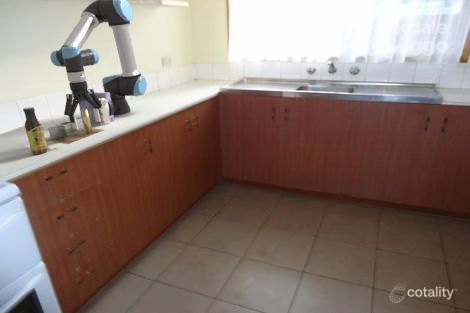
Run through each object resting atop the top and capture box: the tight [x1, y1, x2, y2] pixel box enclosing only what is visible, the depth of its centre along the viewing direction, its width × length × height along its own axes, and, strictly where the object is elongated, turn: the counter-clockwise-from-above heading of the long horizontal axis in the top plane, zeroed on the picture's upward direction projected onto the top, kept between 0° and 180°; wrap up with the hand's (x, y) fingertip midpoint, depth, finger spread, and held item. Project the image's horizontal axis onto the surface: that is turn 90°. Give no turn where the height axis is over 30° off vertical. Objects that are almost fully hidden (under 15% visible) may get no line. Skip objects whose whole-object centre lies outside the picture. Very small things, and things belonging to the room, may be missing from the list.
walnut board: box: [45, 127, 105, 145], centre depth 160 cm, size 22×16×2 cm
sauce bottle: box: [22, 106, 49, 155], centre depth 139 cm, size 7×6×20 cm
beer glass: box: [98, 98, 112, 126], centre depth 174 cm, size 7×7×15 cm
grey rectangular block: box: [47, 125, 77, 140], centre depth 156 cm, size 12×6×6 cm, turn 155°
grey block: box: [55, 118, 85, 138], centre depth 161 cm, size 12×6×6 cm, turn 155°
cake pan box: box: [78, 91, 115, 124], centre depth 181 cm, size 19×5×18 cm, turn 77°
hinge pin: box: [80, 109, 93, 134], centre depth 158 cm, size 3×3×12 cm
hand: (87, 125), depth 159 cm, fingers open, 13 cm apart
